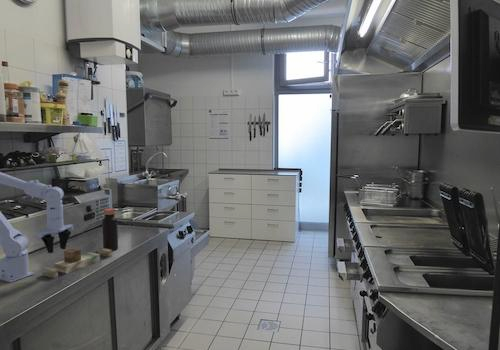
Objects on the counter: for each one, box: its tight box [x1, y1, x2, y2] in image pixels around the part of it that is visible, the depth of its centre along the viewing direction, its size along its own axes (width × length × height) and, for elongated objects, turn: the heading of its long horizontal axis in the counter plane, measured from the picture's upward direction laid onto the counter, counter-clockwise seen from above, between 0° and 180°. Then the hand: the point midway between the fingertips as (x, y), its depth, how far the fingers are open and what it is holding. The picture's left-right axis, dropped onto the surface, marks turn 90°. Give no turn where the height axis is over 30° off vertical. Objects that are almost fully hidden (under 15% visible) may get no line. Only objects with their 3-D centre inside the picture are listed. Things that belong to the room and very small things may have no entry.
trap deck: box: [42, 247, 113, 279], centre depth 153 cm, size 29×7×3 cm, turn 154°
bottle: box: [101, 208, 119, 252], centre depth 173 cm, size 7×7×20 cm
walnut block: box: [63, 247, 82, 263], centre depth 149 cm, size 4×4×4 cm
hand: (56, 250), depth 142 cm, fingers open, 5 cm apart
